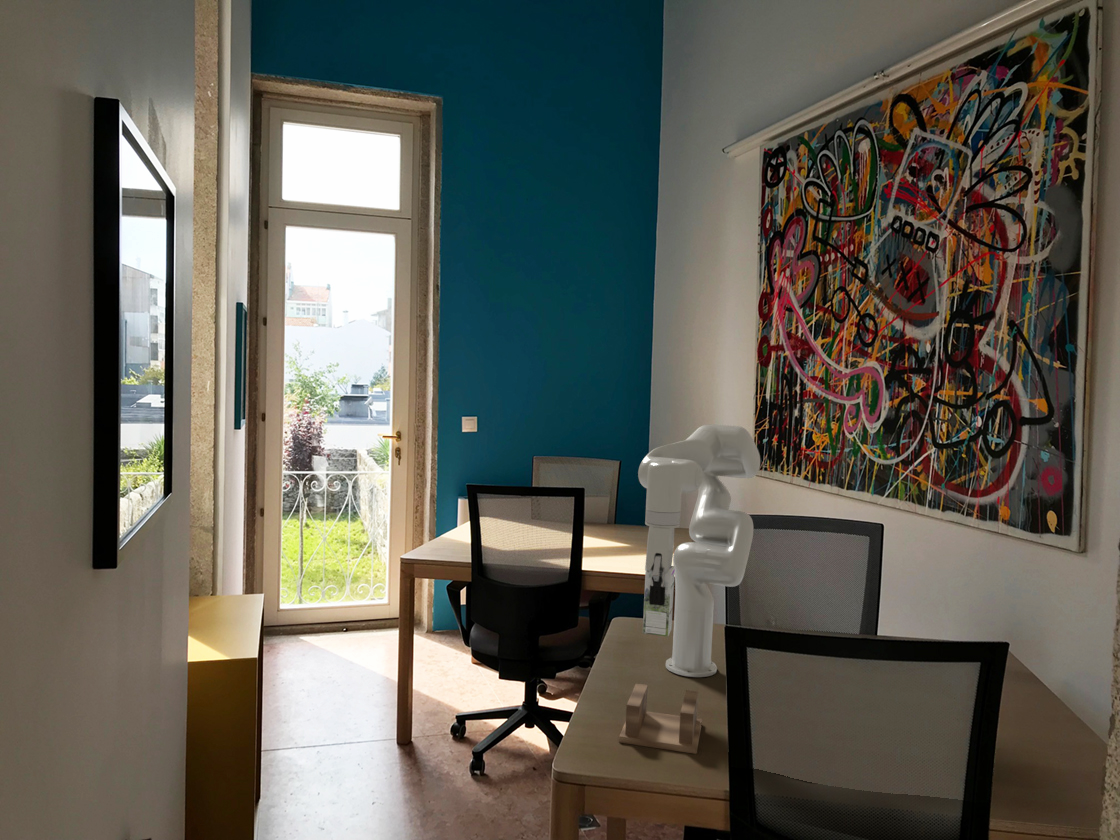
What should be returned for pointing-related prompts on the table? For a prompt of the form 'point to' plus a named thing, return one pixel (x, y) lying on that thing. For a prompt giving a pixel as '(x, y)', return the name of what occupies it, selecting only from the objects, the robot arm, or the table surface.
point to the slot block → (661, 724)
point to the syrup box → (659, 607)
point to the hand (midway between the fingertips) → (658, 599)
